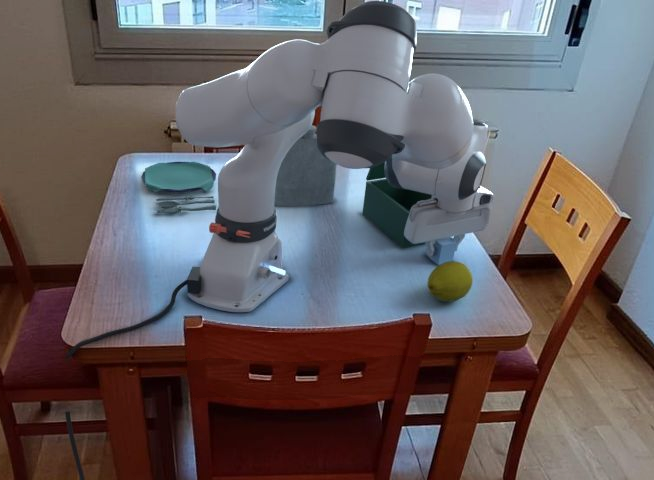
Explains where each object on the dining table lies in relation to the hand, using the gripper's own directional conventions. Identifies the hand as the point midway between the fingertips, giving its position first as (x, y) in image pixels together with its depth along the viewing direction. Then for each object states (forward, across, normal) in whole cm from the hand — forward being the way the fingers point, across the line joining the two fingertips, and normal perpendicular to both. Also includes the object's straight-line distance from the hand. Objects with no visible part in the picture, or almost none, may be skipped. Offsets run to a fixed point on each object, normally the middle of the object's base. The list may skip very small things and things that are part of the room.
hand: (441, 252), depth 138 cm
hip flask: (+2, -16, +37) cm, 40 cm away
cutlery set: (+2, -44, +55) cm, 70 cm away
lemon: (+2, -8, -14) cm, 16 cm away
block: (+2, 0, 0) cm, 2 cm away
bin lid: (-16, +1, +22) cm, 28 cm away
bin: (+2, +1, +16) cm, 17 cm away
